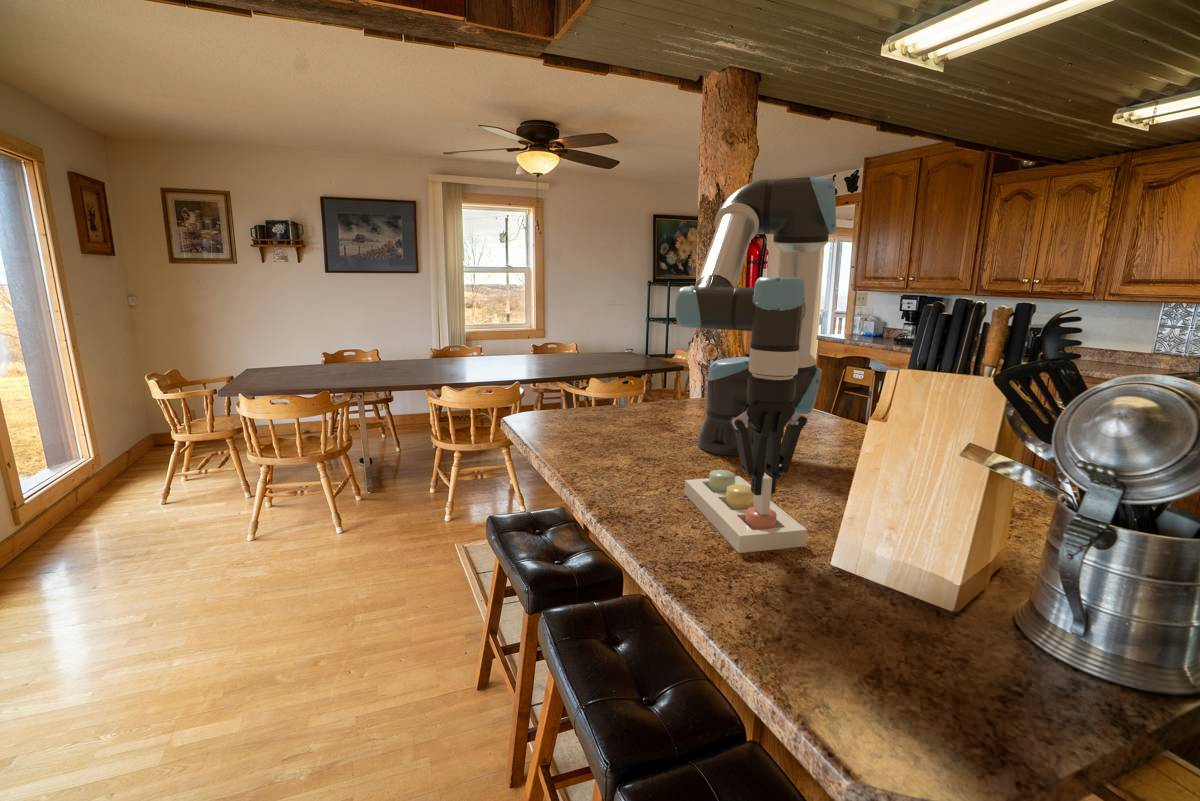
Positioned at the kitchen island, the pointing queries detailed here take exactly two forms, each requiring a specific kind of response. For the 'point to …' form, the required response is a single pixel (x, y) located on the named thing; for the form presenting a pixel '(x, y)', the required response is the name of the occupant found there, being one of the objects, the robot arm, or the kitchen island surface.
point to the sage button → (721, 480)
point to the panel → (733, 520)
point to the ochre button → (739, 497)
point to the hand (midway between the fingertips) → (761, 511)
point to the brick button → (760, 519)
